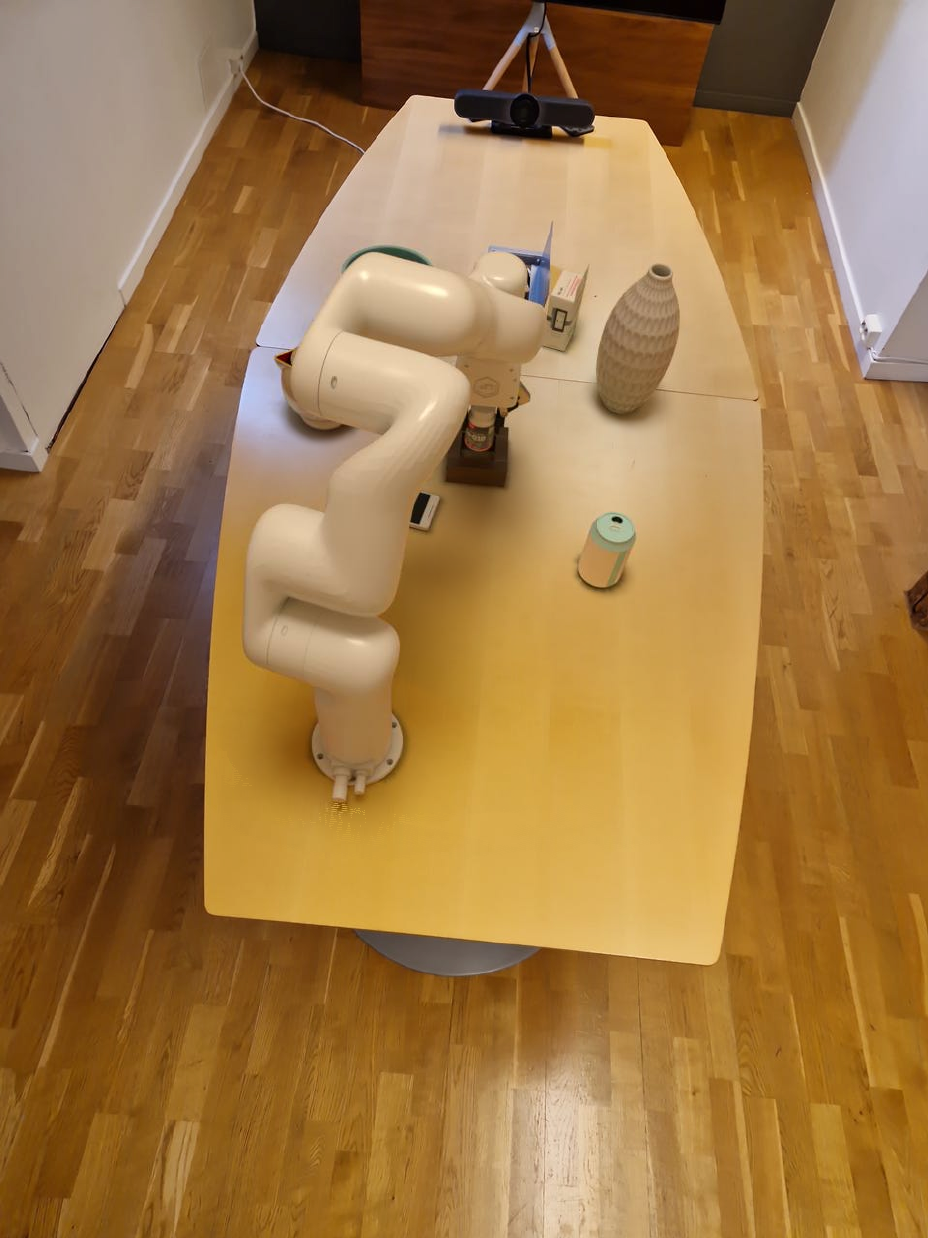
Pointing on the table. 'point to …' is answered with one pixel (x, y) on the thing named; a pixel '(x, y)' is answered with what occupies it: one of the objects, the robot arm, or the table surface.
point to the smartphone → (424, 510)
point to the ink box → (564, 309)
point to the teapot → (311, 420)
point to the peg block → (478, 462)
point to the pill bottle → (480, 427)
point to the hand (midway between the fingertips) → (480, 425)
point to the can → (607, 549)
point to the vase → (638, 341)
